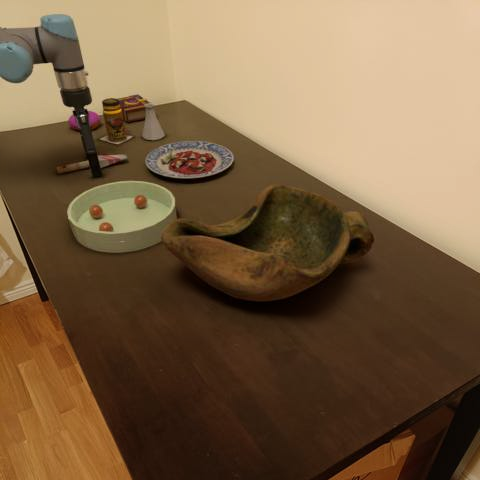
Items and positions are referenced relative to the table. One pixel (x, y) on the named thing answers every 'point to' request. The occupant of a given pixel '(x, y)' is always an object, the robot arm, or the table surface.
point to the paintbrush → (103, 162)
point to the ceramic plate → (189, 159)
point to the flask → (152, 124)
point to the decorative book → (133, 108)
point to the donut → (93, 119)
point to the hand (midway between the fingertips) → (94, 166)
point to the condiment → (114, 121)
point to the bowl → (271, 244)
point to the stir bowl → (122, 216)
